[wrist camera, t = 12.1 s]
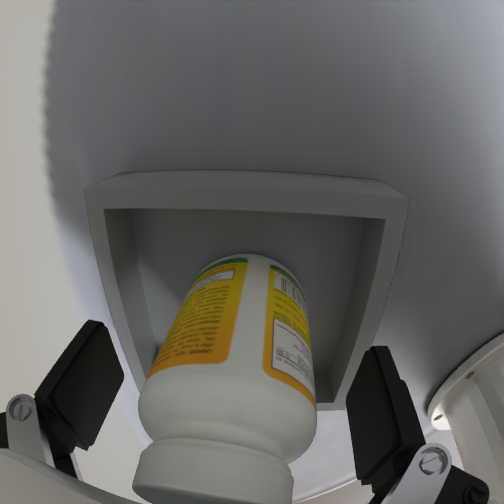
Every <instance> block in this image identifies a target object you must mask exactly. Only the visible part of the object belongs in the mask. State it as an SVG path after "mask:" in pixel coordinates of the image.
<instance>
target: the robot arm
mask: <svg viewBox="0 0 504 504" xmlns="http://www.w3.org/2000/svg"><path fill="white" fill-rule="evenodd" d="M123 380H124V373H123V370H122V367H121V365H120V362H119V359H118V357H117V354H116V351H115V349H114V346H113V343H112V340H111V337H110V334H109V331H108V328H107V327H105V325H104V323H103V322H99V321H94V320H88V321H87V322H86V323H85V324H84V325H83V327H82V328H81V329H80V331H79V332H78V333H77V335H76V336H75V337H74V339H73V340H72V341H71V342H70V344H69V345H68V346H67V348H66V349H65V350H64V352H63V353H62V355H61V356H60V358H59V359H58V360H57V362H56V363H55V364H54V366H53V367H52V369H51V370H50V372H49V373H48V375H47V376H46V377H45V379H44V380H43V382H42V383H41V385H40V386H39V388H38V389H37V391H36V392H35V394H34V395H35V398H34V399H33V398H32V397H31V396H29V395H27V394H19V395H16V396H14V397H13V398H12V399H11V400H10V401H9V402H8V405H7V407H6V412H3V413H0V504H141V503H138V502H135V501H132V500H129V499H126V498H123V497H120V496H117V495H114V494H112V493H109V492H106V491H104V490H101V489H99V488H96V487H94V486H92V485H89V484H87V483H85V482H84V481H83V479H82V475H81V473H80V470H79V467H78V464H77V461H76V458H75V455H74V449H75V446H77V447H79V448H81V449H83V450H86V451H87V450H88V448H89V446H92V445H93V444H94V442H95V440H96V437H97V435H98V433H99V431H100V428H101V427H102V424H103V422H104V420H105V418H106V415H107V414H108V411H109V409H110V407H111V405H112V403H113V401H114V399H115V397H116V395H117V393H118V391H119V389H120V387H121V385H122V383H123ZM346 408H347V414H348V420H349V426H350V433H351V440H352V447H353V454H354V461H355V469H356V477H357V479H358V480H361V483H362V485H369V484H371V485H372V492H373V494H372V495H371V497H370V498H369V499H368V501H367V502H366V503H365V504H504V333H502V334H501V335H499V336H497V337H496V338H494V339H493V340H491V341H490V342H488V343H487V344H486V345H484V346H483V347H481V348H480V349H479V350H478V351H477V352H475V353H474V354H473V355H472V356H470V357H469V358H468V359H467V360H466V361H465V362H464V363H463V364H461V365H460V366H459V367H458V368H457V369H456V370H455V371H454V372H453V373H452V374H451V375H450V376H449V377H448V379H447V380H446V381H445V382H444V383H443V384H442V386H441V387H440V388H439V390H438V391H437V392H436V394H435V395H434V397H433V399H432V401H431V403H430V405H429V408H428V412H427V413H428V418H429V421H430V424H431V426H432V427H434V428H435V429H439V430H450V429H451V431H452V434H453V436H454V439H455V442H456V445H457V448H458V451H459V454H460V458H461V460H462V464H463V467H464V470H465V471H462V470H461V469H459V468H457V467H455V466H453V465H451V464H452V460H451V455H450V452H449V451H448V450H447V448H446V447H444V446H443V445H441V444H438V443H429V444H426V442H425V439H424V435H423V432H422V429H421V426H420V423H419V419H418V416H417V413H416V410H415V407H414V404H413V401H412V399H411V396H410V393H409V390H408V387H407V385H406V383H405V381H403V380H401V379H400V377H399V374H398V371H397V368H396V366H395V363H394V361H393V358H392V355H391V353H390V350H389V348H388V347H387V346H372V347H370V349H369V350H366V351H365V353H364V355H363V358H362V360H361V363H360V365H359V368H358V370H357V373H356V375H355V377H354V380H353V382H352V384H351V387H350V389H349V391H348V393H347V396H346Z"/></svg>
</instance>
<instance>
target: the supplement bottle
mask: <svg viewBox="0 0 504 504" xmlns="http://www.w3.org/2000/svg"><path fill="white" fill-rule="evenodd" d="M138 412H139V417H140V420H141V423H142V425H143V427H144V429H145V431H146V432H147V434H148V435H149V437H150V438H151V439H152V440H153V441H154V442H153V443H152V444H150V445H149V446H148V447H147V448H146V449H145V450H144V451H142V453H141V455H140V460H139V464H138V467H137V470H136V473H135V477H134V480H133V485H132V488H133V490H134V492H135V493H136V494H137V495H139V496H140V497H141V498H143V499H144V500H146V501H148V502H150V503H152V504H292V492H293V484H294V478H293V476H292V475H291V470H290V468H289V467H288V465H287V464H289V463H291V462H293V461H295V460H296V459H297V458H299V457H300V456H301V455H302V454H303V453H304V452H305V451H306V450H307V449H308V448H309V446H310V445H311V443H312V441H313V439H314V436H315V433H316V428H317V410H316V396H315V384H314V374H313V361H312V353H311V343H310V333H309V324H308V314H307V306H306V301H305V295H304V292H303V289H302V287H301V285H300V283H299V282H298V280H297V279H296V277H295V276H294V275H293V274H292V273H291V272H290V271H289V270H288V269H287V268H286V267H285V266H283V265H282V264H280V263H278V262H277V261H275V260H273V259H270V258H268V257H264V256H261V255H256V254H234V255H230V256H227V257H223V258H221V259H218V260H216V261H214V262H212V263H211V264H209V265H208V266H206V267H205V268H204V269H203V270H202V271H201V272H200V273H199V274H198V275H197V276H196V278H195V279H194V281H193V283H192V284H191V287H190V289H189V291H188V293H187V295H186V297H185V299H184V301H183V303H182V305H181V307H180V309H179V311H178V313H177V315H176V317H175V319H174V322H173V324H172V326H171V328H170V330H169V332H168V334H167V336H166V338H165V340H164V342H163V344H162V347H161V349H160V351H159V353H158V355H157V357H156V359H155V361H154V363H153V365H152V368H151V370H150V372H149V374H148V376H147V378H146V380H145V383H144V385H143V387H142V390H141V393H140V396H139V400H138Z"/></svg>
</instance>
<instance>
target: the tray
mask: <svg viewBox="0 0 504 504" xmlns="http://www.w3.org/2000/svg"><path fill="white" fill-rule="evenodd" d="M84 191H85V199H86V206H87V212H88V218H89V224H90V230H91V235H92V240H93V245H94V250H95V255H96V259H97V264H98V268H99V272H100V276H101V280H102V284H103V288H104V292H105V295H106V299H107V303H108V306H109V309H110V313H111V316H112V319H113V323H114V326H115V329H116V332H117V335H118V338H119V341H120V344H121V346H122V349H123V352H124V355H125V358H126V360H127V363H128V366H129V368H130V371H131V373H132V376H133V378H134V381H135V383H136V386H137V388H138V390H139V393H141V390H142V387H143V385H144V383H145V380H146V378H147V376H148V374H149V372H150V370H151V368H152V365H153V363H154V361H155V359H156V357H157V355H158V353H159V351H160V349H161V347H162V344H163V342H164V340H165V338H166V336H167V334H168V332H169V330H170V328H171V326H172V324H173V322H174V319H175V317H176V315H177V313H178V311H179V309H180V307H181V305H182V303H183V301H184V299H185V297H186V295H187V293H188V291H189V289H190V287H191V284H192V283H193V281H194V279H195V278H196V276H197V275H198V274H199V273H200V272H201V271H202V270H203V269H204V268H205V267H206V266H208V265H209V264H211V263H212V262H214V261H216V260H218V259H221V258H223V257H227V256H230V255H234V254H256V255H261V256H264V257H268V258H270V259H273V260H275V261H277V262H278V263H280V264H282V265H283V266H285V267H286V268H287V269H288V270H289V271H290V272H291V273H292V274H293V275H294V276H295V277H296V279H297V280H298V282H299V283H300V285H301V287H302V289H303V292H304V295H305V301H306V306H307V314H308V324H309V333H310V343H311V353H312V361H313V374H314V384H315V396H316V410H317V411H330V410H345V408H346V396H347V393H348V391H349V389H350V387H351V384H352V382H353V380H354V377H355V375H356V373H357V370H358V368H359V365H360V363H361V360H362V358H363V355H364V353H365V351H366V350H369V349H370V347H371V345H372V342H373V339H374V337H375V334H376V331H377V328H378V325H379V322H380V319H381V316H382V313H383V310H384V306H385V303H386V300H387V297H388V293H389V290H390V286H391V283H392V279H393V275H394V271H395V268H396V264H397V260H398V255H399V251H400V247H401V243H402V238H403V233H404V228H405V223H406V218H407V213H408V207H409V202H410V199H409V198H408V197H406V196H405V195H403V194H402V193H400V192H398V191H397V190H395V189H394V188H392V187H391V186H389V185H387V184H386V183H384V182H383V181H380V180H372V179H364V178H354V177H345V176H334V175H322V174H309V173H294V172H275V171H248V170H174V171H147V172H129V173H120V174H117V175H115V176H112V177H110V178H108V179H105V180H103V181H101V182H98V183H96V184H94V185H92V186H89V187H87V188H85V189H84Z"/></svg>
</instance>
